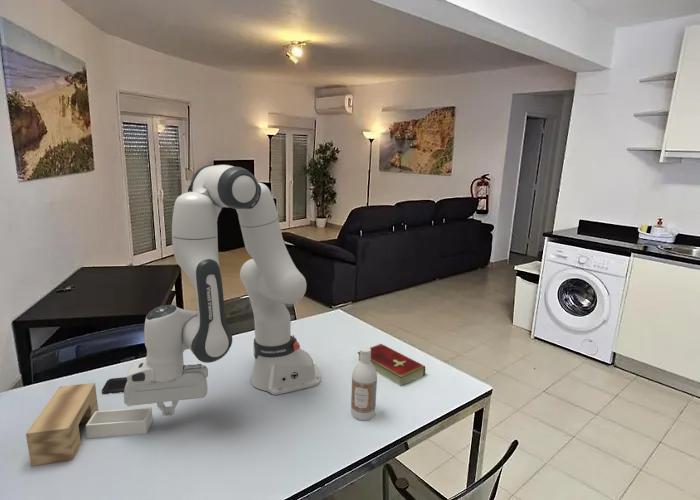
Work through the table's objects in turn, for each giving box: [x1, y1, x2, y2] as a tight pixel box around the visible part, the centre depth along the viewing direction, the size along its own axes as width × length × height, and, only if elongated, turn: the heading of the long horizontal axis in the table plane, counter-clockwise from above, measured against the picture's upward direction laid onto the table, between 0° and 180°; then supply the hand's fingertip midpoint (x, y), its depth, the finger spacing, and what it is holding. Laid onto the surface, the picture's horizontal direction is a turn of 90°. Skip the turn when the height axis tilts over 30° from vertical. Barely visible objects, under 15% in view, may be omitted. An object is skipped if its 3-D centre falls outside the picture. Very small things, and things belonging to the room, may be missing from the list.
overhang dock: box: [25, 382, 99, 467], centre depth 106 cm, size 8×20×8 cm, turn 15°
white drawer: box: [85, 406, 154, 439], centre depth 110 cm, size 14×6×4 cm, turn 100°
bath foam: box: [350, 346, 378, 421], centre depth 118 cm, size 7×7×20 cm
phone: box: [101, 376, 127, 395], centre depth 131 cm, size 8×1×15 cm
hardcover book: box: [357, 343, 426, 387], centre depth 145 cm, size 12×21×4 cm, turn 40°
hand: (168, 414), depth 113 cm, fingers closed
